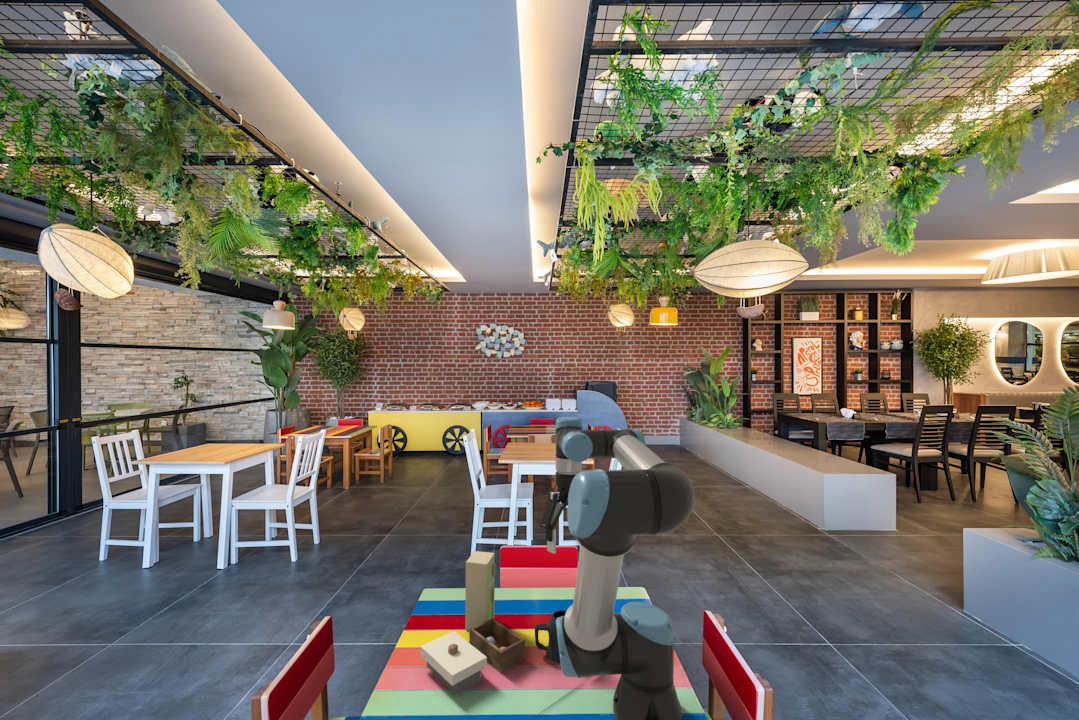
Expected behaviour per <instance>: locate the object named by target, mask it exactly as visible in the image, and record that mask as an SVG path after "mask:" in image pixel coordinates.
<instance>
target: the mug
mask: <svg viewBox="0 0 1079 720" xmlns="http://www.w3.org/2000/svg"><path fill="white" fill-rule="evenodd" d="M567 610H568V609H567ZM567 610H566V609H558V610H555V611H554V612H553V613H552V614H551V617H550V619H548V621H546V622H545V623H536V624H535V625H534V640H535V641H534V642H535V646H536V647H537V649H539V650H540V651H545V652H546V653H545V655H546V658H547V659H548V660H549V661H551V662H552V663H553V664H558V665H561V663H560V655H559V646H558V638H557V629H556V619H557V618H558V617H561V616H565V614H566V611H567ZM539 631H546V632H547V633H548V644H547V646H545V644H543V643H541V642H540V640H539Z"/></svg>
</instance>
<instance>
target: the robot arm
mask: <svg viewBox="0 0 1079 720" xmlns="http://www.w3.org/2000/svg"><path fill="white" fill-rule="evenodd" d="M554 430H555V431H554V432H555V474H554V475H555V485H556V487H557V490H556V491H555V492H554V491H549V492H548V496H547V497H548V500H547V501H546V506H545V509H544V512H543V514H542V518H541V521H540V522H539V523H540V524H539V527H540V528H542V529H545V540H546V547H547V548H546V551H547V552H549V553H552V554H557V529H556V528H555V527H556V526H557V522H558V521H559V519H560V517H561V515H562V513H563V511H564V509H566V513H567V514H566V515H567V516H566V517H567V518H566V519H567V526H568V530H569V532H570V533H571V534H570V535H572V536H573V537H574V538H575V540H577V542H578V543H579V552H578V563H577V571H576V579H575V586H574V595H573V600H572V601H573V603H572V604H571V605H570V606H569V607H568V608H567V611H566V614H565V616H561V617H558V618H557V619H556V629H557V638H558V646H559V655H560V663H561V664H560V667H561V669H560V670H561V672H562V674H563V675H564V676H565V677H567V678H578V679H580V678H586V677H587V678H588V677H598V676H602V677H603V676H611V675H612V676H613V675H620V677H619V680H618V682H617V685H616V688H615V691H614V694H613V699H612V705H613V706H612V712H613V715H614V717H615V719H616V720H682V706H681V703H680V700H679V697H678V694H677V690H676V687H675V682H674V671H675V669H674V667H675V665H674V664H675V641H676V639H675V633H674V631H675V629H674V623H673V621H672V620H673V619H672V618H671V617H670V616H669V615H668V614H667V612H665V611H664V610H663V609H661V608H659V607H657V606H655V605H652V604H650V603H647V602H644V601H643V602H641V601H630V602H626V604H624V605H623V606H622V607H621V610H620V613H615V612H614V610H615V607H616V601H617V596H618V588H619V584H620V580H621V574H622V569H623V562H624V557H625V555H626V554H627V553H629V552H630V551H631V550H632V549H633V547H634V545H635V542H636V537H637V536H651V535H653V536H655V535H664V534H668V533H671V532H673V531H675V530H677V529H678V528H680V527H682V525H683V524H685V522H686V521H687V520H688V519H689V517H690V516H691V514H692V512H693V509H694V506H695V501H696V500H695V499H696V493H695V487H694V484H693V483H692V481H691V479H690V477H689V476H688V475H687V473H686V472H685V471H684V470H683V469H681V468H680V467H679V466H678V465H676V464H674V463H671V462H666V461H664V460H663V459H662V458H660V457H659V456H658V455H657V454H656V453H655V452H653V451H652V450H651V449H650V448H649V447H648V446H647V445H646V439H645V436H644V433H643V431H642V430H640V429H631V428H624V429H583V421H582V419H581V418H579V417H576V416H561V417H558V418H556V421H555V429H554ZM588 459H591V460H592V459H593V460H594V459H615V460H617V462H618V463H619V464H620V465H621V466H622V467H623V468H624V469H618V470H615V469H613V470H604V469H602V468H601V469H600V468H599V469H598V468H597V469H595V468H594V469H593V470H583V462H584V461H586V460H588ZM614 613H615V614H614Z"/></svg>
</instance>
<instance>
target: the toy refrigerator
mask: <svg viewBox="0 0 1079 720" xmlns="http://www.w3.org/2000/svg"><path fill="white" fill-rule="evenodd" d="M495 559H496V557H495V552H488V551H478V550H476V551H473V552H472V554H471V555H470V556H469V557H468V559H467V560H466V561H465V600H464V601H465V604H464V605H465V606H464V607H465V608H464V609H465V613H464V615H465V618H464V619H465V620H464V622H465V624H464V625H465V627H464V629H465V631H468V632H469V629H470V628H473V627H475V626H477V625H479V624H481V623H483V622H485V621H488V620H490V619H492V618H493V619H495V593H496V591H495V576H496V563H495Z"/></svg>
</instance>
